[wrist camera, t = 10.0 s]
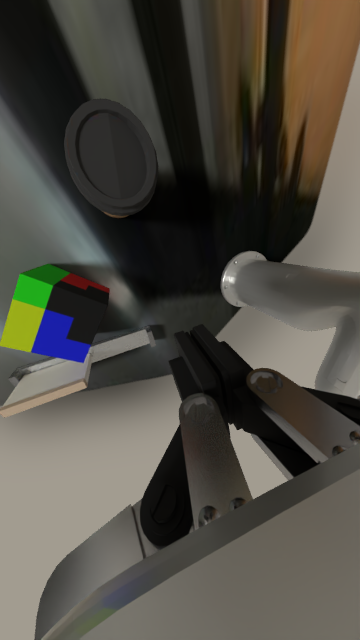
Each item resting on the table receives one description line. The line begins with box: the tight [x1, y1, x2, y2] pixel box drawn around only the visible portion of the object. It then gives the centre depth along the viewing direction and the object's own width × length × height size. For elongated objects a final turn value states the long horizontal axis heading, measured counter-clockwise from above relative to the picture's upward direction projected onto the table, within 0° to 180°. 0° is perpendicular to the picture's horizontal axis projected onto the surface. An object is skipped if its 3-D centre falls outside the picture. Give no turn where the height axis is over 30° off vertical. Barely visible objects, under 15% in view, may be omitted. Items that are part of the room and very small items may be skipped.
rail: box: [9, 326, 156, 387], centre depth 36 cm, size 26×4×3 cm, turn 101°
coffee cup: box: [64, 99, 158, 218], centre depth 22 cm, size 8×8×15 cm
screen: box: [0, 354, 92, 418], centre depth 32 cm, size 12×1×8 cm, turn 101°
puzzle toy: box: [0, 264, 110, 363], centre depth 28 cm, size 10×10×10 cm
